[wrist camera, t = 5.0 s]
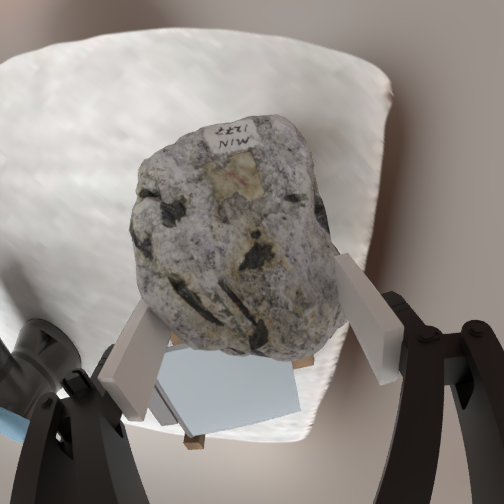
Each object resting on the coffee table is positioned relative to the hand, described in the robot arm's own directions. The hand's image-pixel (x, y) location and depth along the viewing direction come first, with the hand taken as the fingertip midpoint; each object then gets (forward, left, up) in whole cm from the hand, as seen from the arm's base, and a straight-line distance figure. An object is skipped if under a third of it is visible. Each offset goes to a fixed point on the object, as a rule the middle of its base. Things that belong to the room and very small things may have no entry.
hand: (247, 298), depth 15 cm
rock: (0, +2, -5) cm, 5 cm away
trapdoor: (-8, -19, -12) cm, 24 cm away
